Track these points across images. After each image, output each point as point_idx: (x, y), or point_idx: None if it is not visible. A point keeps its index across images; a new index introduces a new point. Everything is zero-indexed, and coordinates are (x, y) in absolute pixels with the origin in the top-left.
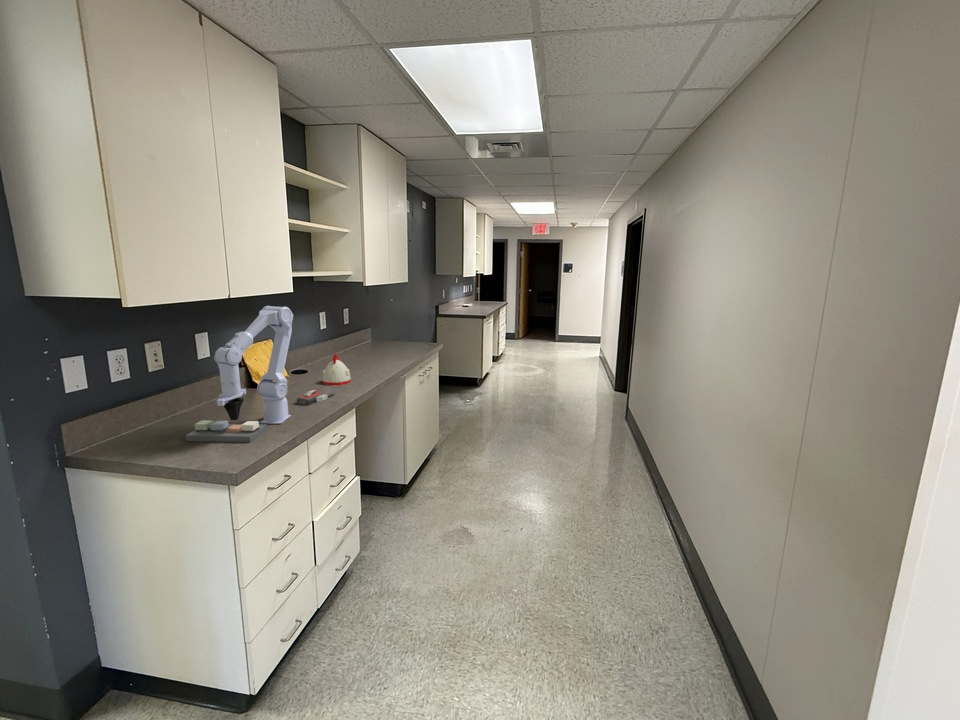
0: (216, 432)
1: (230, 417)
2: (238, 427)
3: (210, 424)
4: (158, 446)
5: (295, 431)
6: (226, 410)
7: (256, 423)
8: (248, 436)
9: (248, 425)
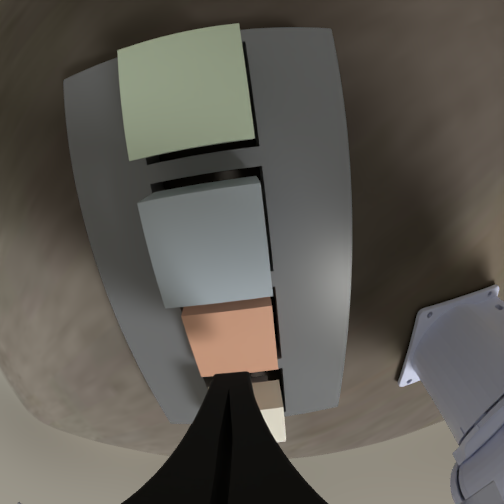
0: None
1: (209, 395)
2: (228, 367)
3: (138, 205)
4: (23, 39)
5: (311, 448)
6: (175, 450)
7: None
8: (169, 419)
9: None
